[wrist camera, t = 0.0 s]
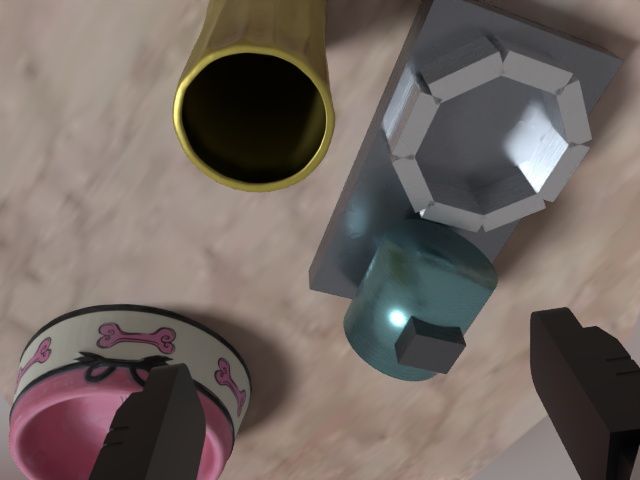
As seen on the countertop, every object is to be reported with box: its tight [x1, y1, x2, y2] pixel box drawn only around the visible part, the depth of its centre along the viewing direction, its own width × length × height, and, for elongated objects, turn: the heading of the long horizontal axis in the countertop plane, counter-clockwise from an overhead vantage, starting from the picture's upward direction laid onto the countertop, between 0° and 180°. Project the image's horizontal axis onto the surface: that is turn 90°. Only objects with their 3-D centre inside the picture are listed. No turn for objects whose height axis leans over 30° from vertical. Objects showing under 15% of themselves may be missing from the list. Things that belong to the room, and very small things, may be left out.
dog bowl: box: [9, 305, 252, 480], centre depth 44 cm, size 18×19×7 cm
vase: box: [173, 0, 335, 192], centre depth 24 cm, size 6×6×14 cm
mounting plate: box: [309, 0, 623, 381], centre depth 32 cm, size 20×11×10 cm, turn 161°
